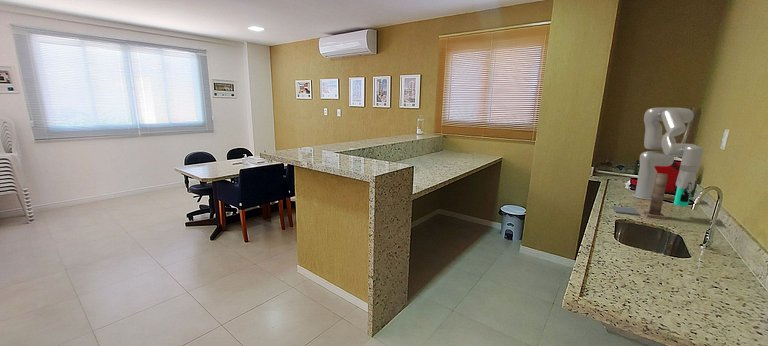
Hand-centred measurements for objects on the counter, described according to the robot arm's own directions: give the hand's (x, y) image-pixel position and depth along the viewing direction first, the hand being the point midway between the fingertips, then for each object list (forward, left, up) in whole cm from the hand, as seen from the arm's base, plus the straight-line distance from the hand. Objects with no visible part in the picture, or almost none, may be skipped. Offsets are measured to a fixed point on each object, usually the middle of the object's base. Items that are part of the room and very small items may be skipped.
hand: (681, 199), depth 176 cm
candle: (0, 0, -3) cm, 3 cm away
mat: (+1, -25, -10) cm, 27 cm away
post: (+4, -12, -10) cm, 16 cm away
